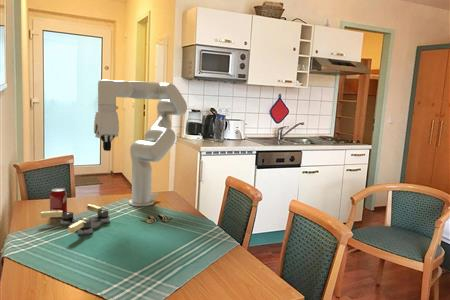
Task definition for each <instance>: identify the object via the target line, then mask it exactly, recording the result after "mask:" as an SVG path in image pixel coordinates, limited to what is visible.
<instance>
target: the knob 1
mask: <svg viewBox="0 0 450 300" xmlns="http://www.w3.org/2000/svg"><path fill="white" fill-rule="evenodd" d="M90 228H91V221H90V220H82V221H81V220H80V221H78V222H76V223H75V224H73V225H71V226H68V228H67V232H68V233H69V234H71V233H72V234H73V233H76V232H78V231H77V230H78V229H81V230H86V229H90Z"/></svg>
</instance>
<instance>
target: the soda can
mask: <svg viewBox="0 0 450 300" xmlns="http://www.w3.org/2000/svg"><path fill="white" fill-rule="evenodd" d="M67 194H68V193H67V191H66V188H65V187H54V188H52V189H51V192H49V211H62V212H63V213H64V212H68V198H67V197H68V195H67ZM53 218H54V219H62V217H52V219H53Z"/></svg>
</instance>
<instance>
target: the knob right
mask: <svg viewBox="0 0 450 300" xmlns="http://www.w3.org/2000/svg"><path fill="white" fill-rule="evenodd" d="M38 216H39V217H40V218H41V219H43V218H45V219H46V218H53V217H61V219H62V220H63V221H70V220H73V218H74V212H72V211H67V212H64V213H63V212H62V211H50V210H47V211H40V212H39V214H38Z"/></svg>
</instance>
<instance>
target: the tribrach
mask: <svg viewBox="0 0 450 300" xmlns="http://www.w3.org/2000/svg"><path fill="white" fill-rule="evenodd" d="M80 220H81V221H82V220H90V221H91V228H90V229H86V230H81V229H78V230H77V231H76V232H77V234H78V235H79V236H90V235H92V234H93V233H92V232H94V231H95V230H97V229H99V228H101V227H102V225H103V224H104V225H105V223H106V224H108V223H110V216H109V215H108V218H104V219H100V218H98V215H96V216H81V217H76V218H75V217H73V220H70V221H63V220H62V218H60V226H62V227H69V226H71V225H73V224H75V223H76V222H78V221H80ZM94 229H95V230H94ZM91 233H92V234H91ZM89 234H90V235H89Z"/></svg>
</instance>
